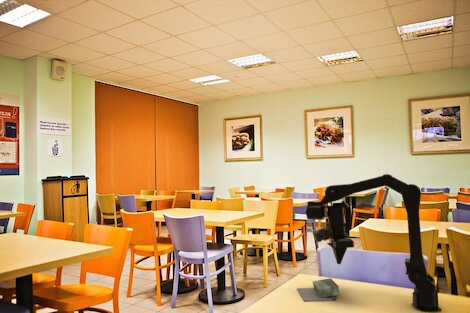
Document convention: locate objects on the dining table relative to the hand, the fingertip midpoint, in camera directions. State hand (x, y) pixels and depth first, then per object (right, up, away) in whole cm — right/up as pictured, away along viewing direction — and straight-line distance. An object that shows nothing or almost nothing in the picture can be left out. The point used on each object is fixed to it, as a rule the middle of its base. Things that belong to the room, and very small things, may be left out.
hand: (338, 263), depth 132 cm
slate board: (-9, -12, +1) cm, 15 cm away
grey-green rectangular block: (-1, -9, +2) cm, 9 cm away
